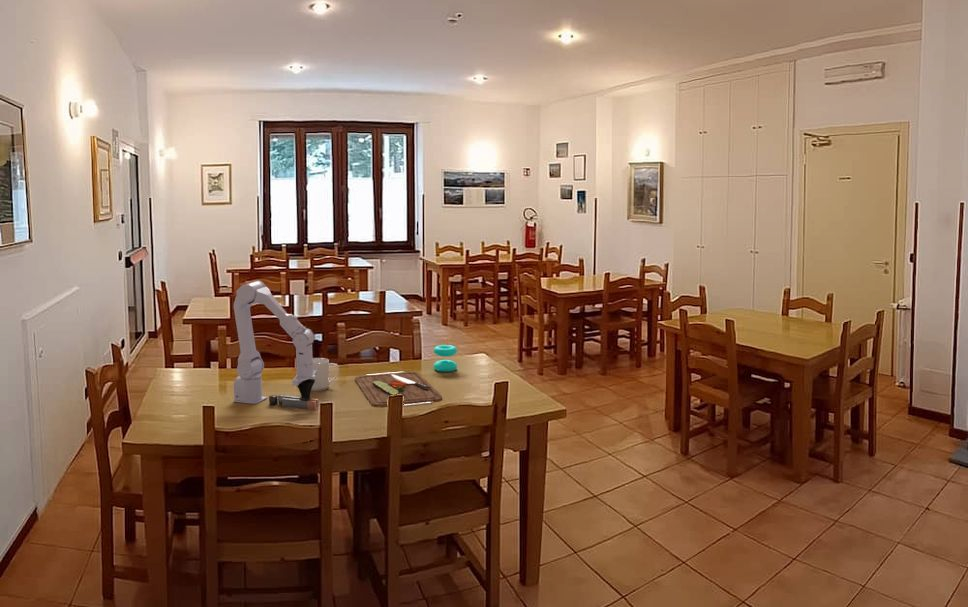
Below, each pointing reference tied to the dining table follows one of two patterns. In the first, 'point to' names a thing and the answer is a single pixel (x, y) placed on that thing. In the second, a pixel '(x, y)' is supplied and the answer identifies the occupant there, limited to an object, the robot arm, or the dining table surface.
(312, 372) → the robot arm
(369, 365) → the dining table surface
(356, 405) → the dining table surface
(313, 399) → the bar
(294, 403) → the base
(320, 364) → the mug
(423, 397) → the chopping board
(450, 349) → the donuts
